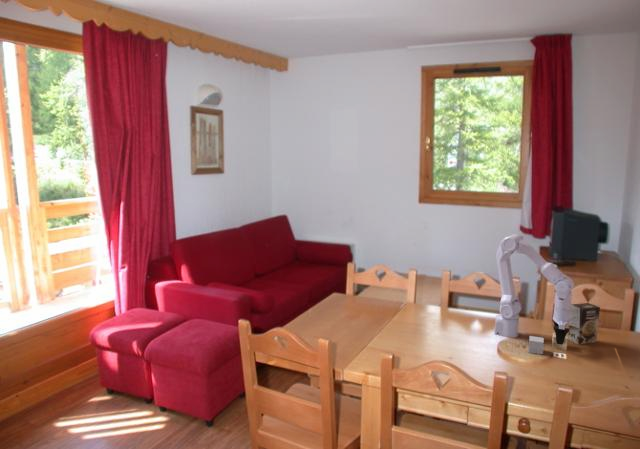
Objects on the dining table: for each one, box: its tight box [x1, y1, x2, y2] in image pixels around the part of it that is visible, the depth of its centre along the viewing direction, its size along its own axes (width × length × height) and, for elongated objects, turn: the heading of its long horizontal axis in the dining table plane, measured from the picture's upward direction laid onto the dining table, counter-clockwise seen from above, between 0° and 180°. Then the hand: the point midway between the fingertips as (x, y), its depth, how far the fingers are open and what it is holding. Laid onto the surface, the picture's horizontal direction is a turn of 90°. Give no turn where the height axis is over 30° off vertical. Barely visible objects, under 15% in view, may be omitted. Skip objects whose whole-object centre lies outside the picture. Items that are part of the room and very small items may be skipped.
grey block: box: [528, 335, 545, 355], centre depth 186 cm, size 5×5×5 cm
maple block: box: [551, 331, 568, 351], centre depth 190 cm, size 5×5×5 cm
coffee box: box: [567, 302, 601, 345], centre depth 196 cm, size 9×6×16 cm
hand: (559, 340), depth 190 cm, fingers open, 7 cm apart
